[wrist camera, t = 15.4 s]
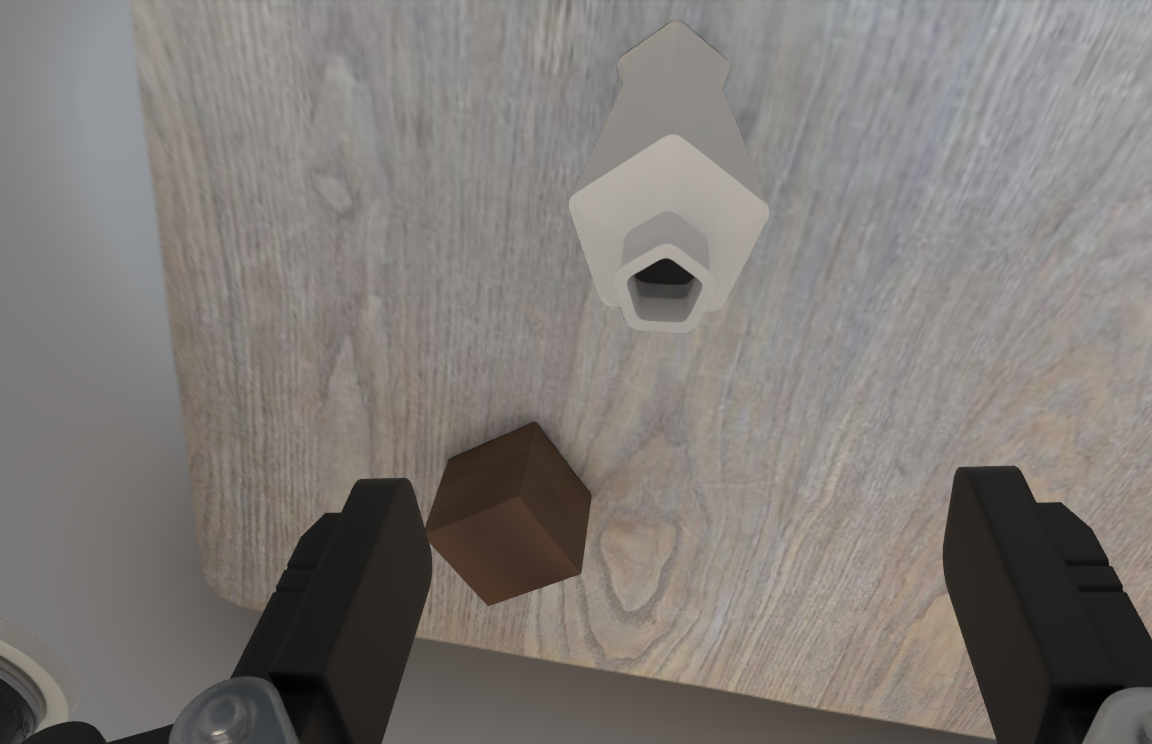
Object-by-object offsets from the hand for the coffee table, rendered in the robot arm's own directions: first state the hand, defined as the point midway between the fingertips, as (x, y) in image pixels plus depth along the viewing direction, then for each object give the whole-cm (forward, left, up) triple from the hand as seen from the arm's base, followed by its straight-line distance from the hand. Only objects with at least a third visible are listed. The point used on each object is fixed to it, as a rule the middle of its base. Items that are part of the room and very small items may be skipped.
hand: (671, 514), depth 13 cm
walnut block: (-8, -18, -21) cm, 29 cm away
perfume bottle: (0, 0, -21) cm, 21 cm away
